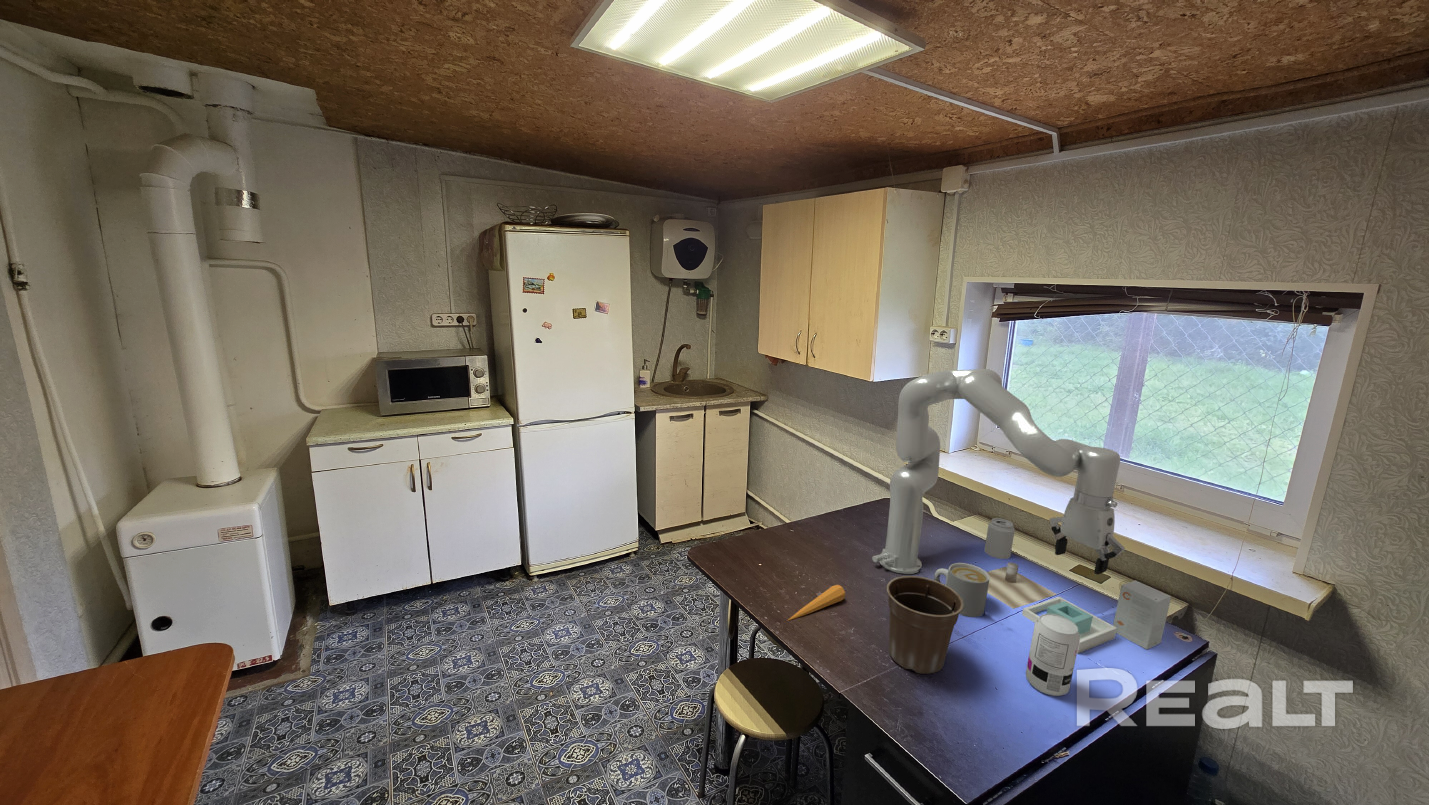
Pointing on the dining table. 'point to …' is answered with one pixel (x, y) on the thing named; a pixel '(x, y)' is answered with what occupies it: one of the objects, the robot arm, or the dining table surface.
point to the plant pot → (921, 622)
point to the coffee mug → (967, 586)
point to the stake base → (1015, 587)
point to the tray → (1089, 639)
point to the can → (999, 538)
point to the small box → (1141, 614)
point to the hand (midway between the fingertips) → (1079, 563)
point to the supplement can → (1052, 654)
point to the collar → (1072, 615)
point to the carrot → (822, 601)
